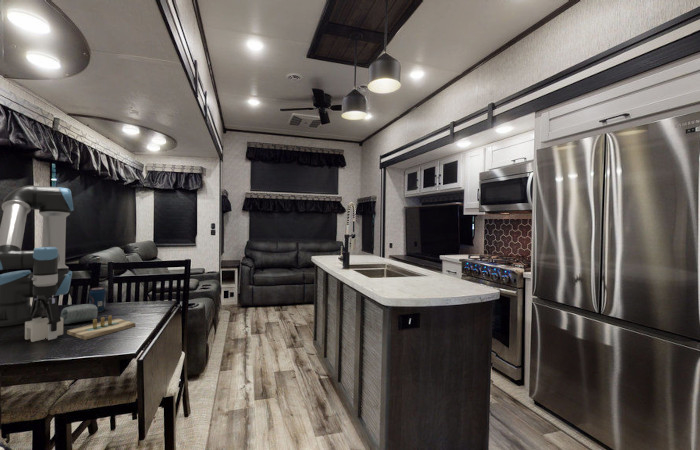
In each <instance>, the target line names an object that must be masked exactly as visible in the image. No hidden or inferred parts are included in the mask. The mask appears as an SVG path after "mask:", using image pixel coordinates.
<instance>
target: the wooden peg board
mask: <svg viewBox="0 0 700 450" xmlns="http://www.w3.org/2000/svg"><path fill="white" fill-rule="evenodd" d="M107 317H108V318H107V320H106V321H105V319H106V318H105V317H104V316H103V317H100V322H98V318H95V319H93V320H92V323H91V324H88V325H84V326H80V327H76V328H72V329H68V330H66V334H67V335H69V336H72V337H75V338H78V339H81V340H83V341H85V340H90V339H93V338H97V337H101V336H106V335H108V334H112V333H116V332H120V331H123V330H127V329H130V328H135V327H136V322H132V321H129V320H124V319H121V318H117V317H116V318H114V319H113V315H107Z"/></svg>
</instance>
